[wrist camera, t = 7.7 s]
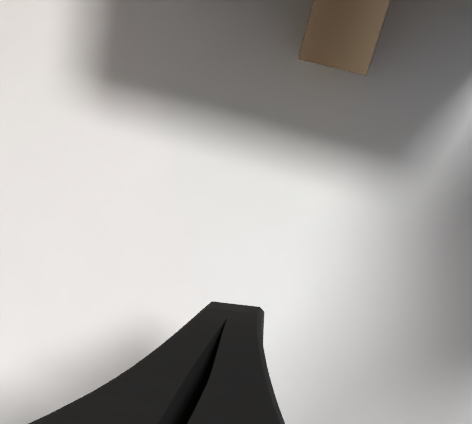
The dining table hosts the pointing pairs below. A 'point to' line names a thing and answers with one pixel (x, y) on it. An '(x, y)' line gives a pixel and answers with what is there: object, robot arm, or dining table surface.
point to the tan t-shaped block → (343, 33)
